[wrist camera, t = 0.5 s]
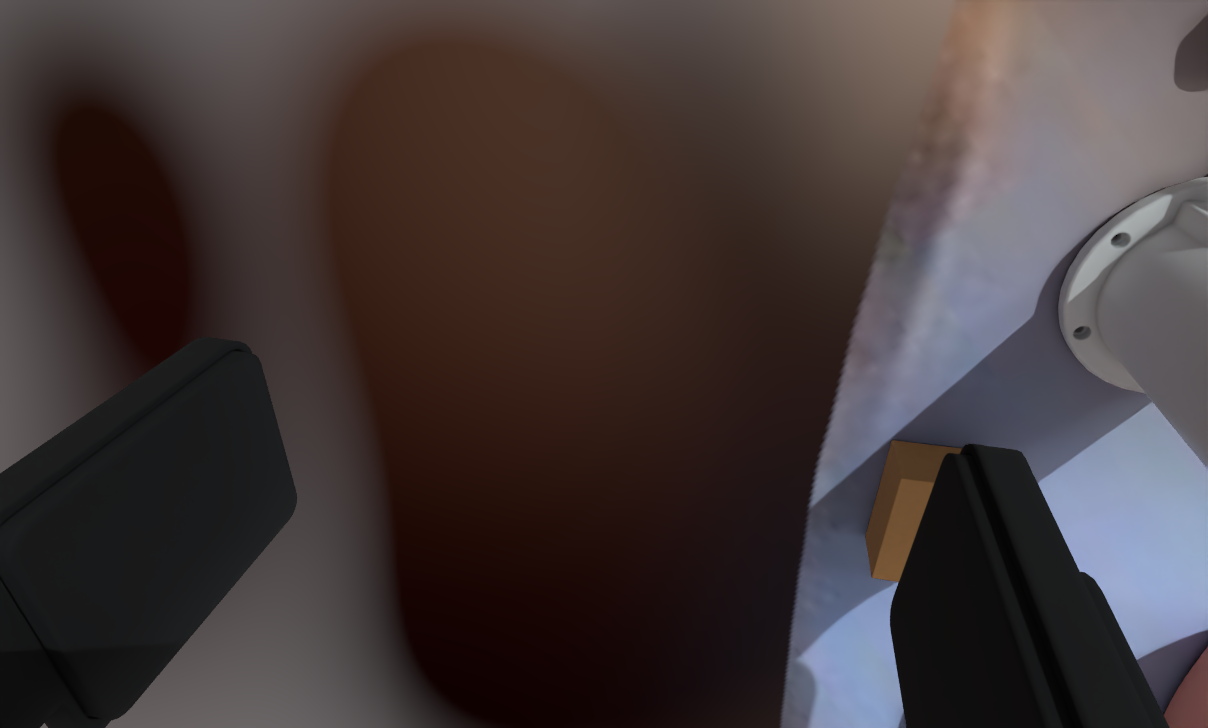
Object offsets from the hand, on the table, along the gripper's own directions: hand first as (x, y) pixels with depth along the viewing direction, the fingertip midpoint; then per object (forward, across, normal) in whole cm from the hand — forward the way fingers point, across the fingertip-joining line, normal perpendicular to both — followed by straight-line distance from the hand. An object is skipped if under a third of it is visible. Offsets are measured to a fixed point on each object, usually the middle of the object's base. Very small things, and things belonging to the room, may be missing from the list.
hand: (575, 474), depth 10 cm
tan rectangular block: (+33, -16, +26) cm, 46 cm away
